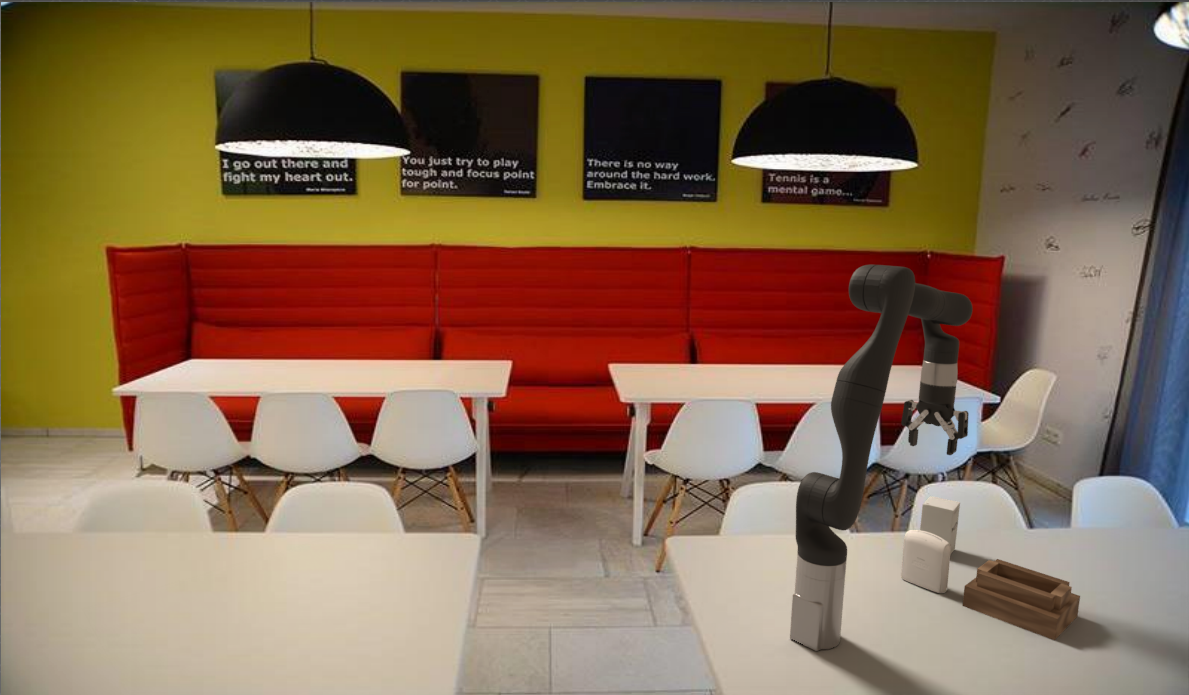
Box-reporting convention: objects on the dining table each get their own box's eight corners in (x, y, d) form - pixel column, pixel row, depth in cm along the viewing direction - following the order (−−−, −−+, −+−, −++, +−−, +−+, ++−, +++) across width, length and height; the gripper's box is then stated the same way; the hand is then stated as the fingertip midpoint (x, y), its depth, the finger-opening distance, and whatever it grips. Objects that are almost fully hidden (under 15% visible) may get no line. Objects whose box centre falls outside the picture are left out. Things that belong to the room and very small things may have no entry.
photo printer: (897, 578, 181) (901, 528, 179) (907, 573, 184) (911, 523, 182) (940, 596, 173) (946, 543, 171) (950, 590, 176) (955, 538, 174)
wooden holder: (1054, 642, 157) (1059, 604, 155) (962, 607, 170) (966, 572, 168) (1077, 617, 166) (1082, 582, 165) (988, 586, 179) (992, 553, 177)
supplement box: (948, 560, 191) (953, 510, 189) (916, 551, 196) (921, 503, 193) (956, 549, 197) (961, 501, 195) (925, 541, 202) (929, 494, 199)
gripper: (900, 377, 181) (894, 445, 184) (963, 389, 170) (955, 461, 173) (915, 373, 186) (909, 439, 189) (977, 384, 175) (970, 454, 178)
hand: (931, 449), depth 181 cm, fingers open, 8 cm apart
